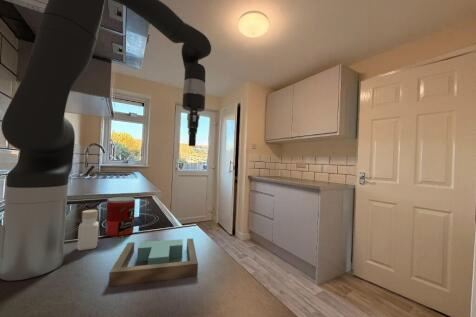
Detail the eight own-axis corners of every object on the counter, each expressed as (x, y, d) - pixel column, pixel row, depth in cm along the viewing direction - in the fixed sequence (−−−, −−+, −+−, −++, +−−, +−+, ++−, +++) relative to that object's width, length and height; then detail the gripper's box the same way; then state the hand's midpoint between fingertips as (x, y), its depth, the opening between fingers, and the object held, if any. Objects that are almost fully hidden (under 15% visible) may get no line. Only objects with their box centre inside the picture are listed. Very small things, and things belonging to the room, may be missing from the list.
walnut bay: (108, 286, 37) (109, 272, 37) (127, 252, 51) (127, 242, 51) (197, 275, 42) (197, 263, 42) (192, 247, 56) (192, 238, 56)
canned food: (121, 239, 60) (123, 201, 60) (98, 236, 61) (100, 199, 62) (138, 231, 67) (140, 197, 68) (118, 228, 69) (120, 196, 69)
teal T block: (131, 274, 41) (132, 259, 41) (140, 254, 51) (141, 241, 51) (182, 269, 44) (183, 255, 44) (181, 250, 54) (182, 239, 54)
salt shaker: (97, 243, 56) (99, 208, 56) (96, 248, 53) (98, 212, 53) (79, 245, 54) (81, 209, 54) (76, 251, 51) (79, 213, 51)
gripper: (182, 100, 75) (180, 146, 75) (183, 87, 62) (180, 143, 62) (202, 102, 77) (200, 147, 77) (207, 90, 65) (205, 145, 64)
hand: (191, 145), depth 69 cm, fingers closed
